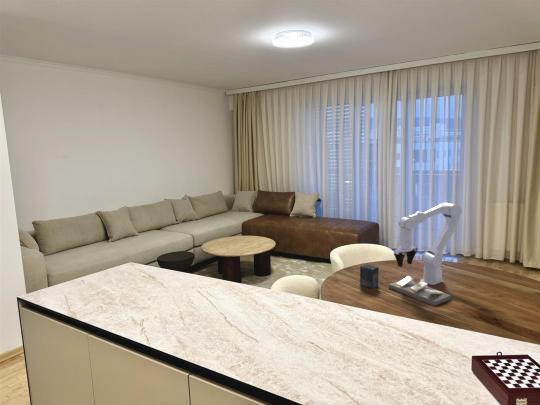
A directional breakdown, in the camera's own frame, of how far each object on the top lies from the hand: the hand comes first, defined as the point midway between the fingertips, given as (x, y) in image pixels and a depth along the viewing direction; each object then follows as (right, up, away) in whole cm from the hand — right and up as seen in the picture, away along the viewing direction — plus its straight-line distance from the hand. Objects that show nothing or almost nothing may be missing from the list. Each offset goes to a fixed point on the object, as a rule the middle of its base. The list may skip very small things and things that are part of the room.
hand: (404, 265), depth 189 cm
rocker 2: (+3, -9, -11) cm, 15 cm away
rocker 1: (-1, -8, -5) cm, 9 cm away
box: (-19, -11, 0) cm, 22 cm away
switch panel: (+3, -12, -11) cm, 17 cm away
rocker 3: (+7, -10, -18) cm, 22 cm away
